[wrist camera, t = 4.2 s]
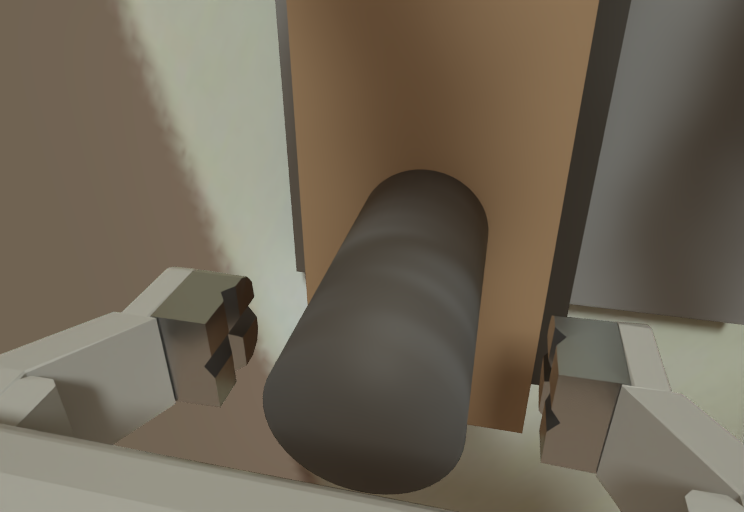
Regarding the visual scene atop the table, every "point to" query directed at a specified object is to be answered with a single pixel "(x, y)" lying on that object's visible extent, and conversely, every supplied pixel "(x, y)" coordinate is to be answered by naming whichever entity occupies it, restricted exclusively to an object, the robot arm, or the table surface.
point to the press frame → (650, 166)
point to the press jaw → (434, 221)
